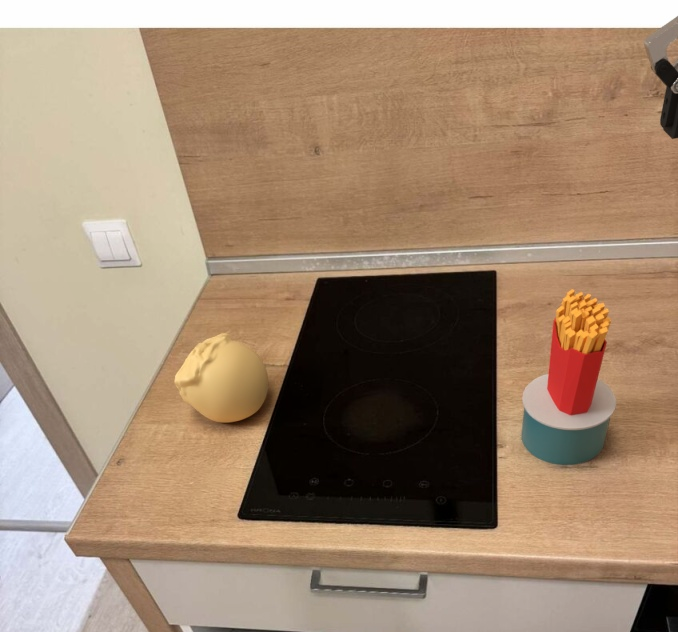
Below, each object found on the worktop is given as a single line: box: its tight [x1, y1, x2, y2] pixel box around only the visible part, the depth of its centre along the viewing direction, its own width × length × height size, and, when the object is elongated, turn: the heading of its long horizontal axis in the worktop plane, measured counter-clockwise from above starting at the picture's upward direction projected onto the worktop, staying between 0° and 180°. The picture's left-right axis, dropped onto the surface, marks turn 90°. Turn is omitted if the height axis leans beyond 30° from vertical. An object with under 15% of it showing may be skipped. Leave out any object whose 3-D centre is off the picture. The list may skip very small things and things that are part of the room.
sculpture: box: [174, 332, 269, 423], centre depth 87 cm, size 11×12×11 cm
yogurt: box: [520, 373, 617, 466], centre depth 74 cm, size 10×10×8 cm
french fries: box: [547, 288, 612, 415], centre depth 67 cm, size 8×4×12 cm, turn 6°
